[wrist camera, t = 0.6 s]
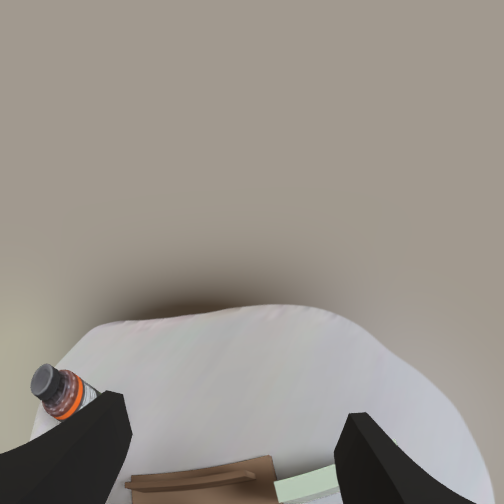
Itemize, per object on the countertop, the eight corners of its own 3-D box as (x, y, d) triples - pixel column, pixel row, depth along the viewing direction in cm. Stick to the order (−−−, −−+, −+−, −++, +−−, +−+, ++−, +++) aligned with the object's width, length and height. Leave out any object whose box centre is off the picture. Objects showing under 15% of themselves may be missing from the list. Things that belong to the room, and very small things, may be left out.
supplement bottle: (89, 442, 28) (19, 401, 21) (97, 403, 32) (34, 357, 25) (122, 446, 26) (47, 403, 20) (129, 402, 31) (63, 353, 24)
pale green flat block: (394, 470, 17) (403, 459, 13) (301, 503, 18) (278, 502, 13) (388, 455, 18) (394, 438, 14) (297, 488, 19) (273, 481, 15)
